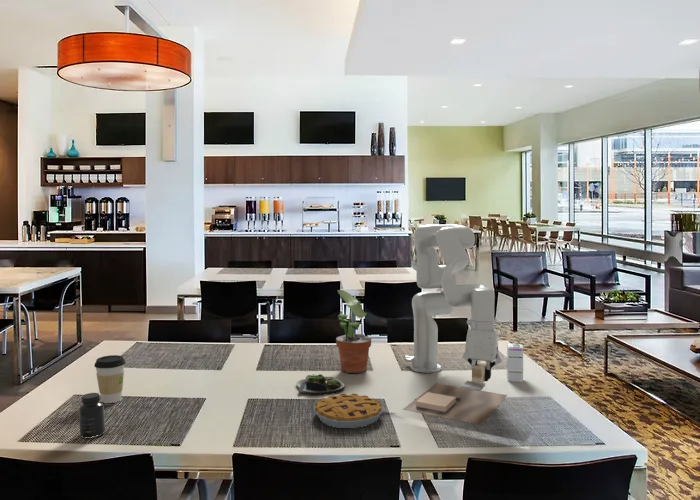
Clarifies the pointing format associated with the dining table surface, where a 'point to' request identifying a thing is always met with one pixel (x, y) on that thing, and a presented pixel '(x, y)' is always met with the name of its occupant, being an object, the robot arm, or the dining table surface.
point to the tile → (436, 402)
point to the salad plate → (320, 385)
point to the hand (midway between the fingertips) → (481, 378)
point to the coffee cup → (110, 377)
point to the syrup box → (515, 362)
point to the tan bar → (476, 378)
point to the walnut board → (463, 404)
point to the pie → (348, 410)
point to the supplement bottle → (91, 415)
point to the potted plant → (352, 338)
